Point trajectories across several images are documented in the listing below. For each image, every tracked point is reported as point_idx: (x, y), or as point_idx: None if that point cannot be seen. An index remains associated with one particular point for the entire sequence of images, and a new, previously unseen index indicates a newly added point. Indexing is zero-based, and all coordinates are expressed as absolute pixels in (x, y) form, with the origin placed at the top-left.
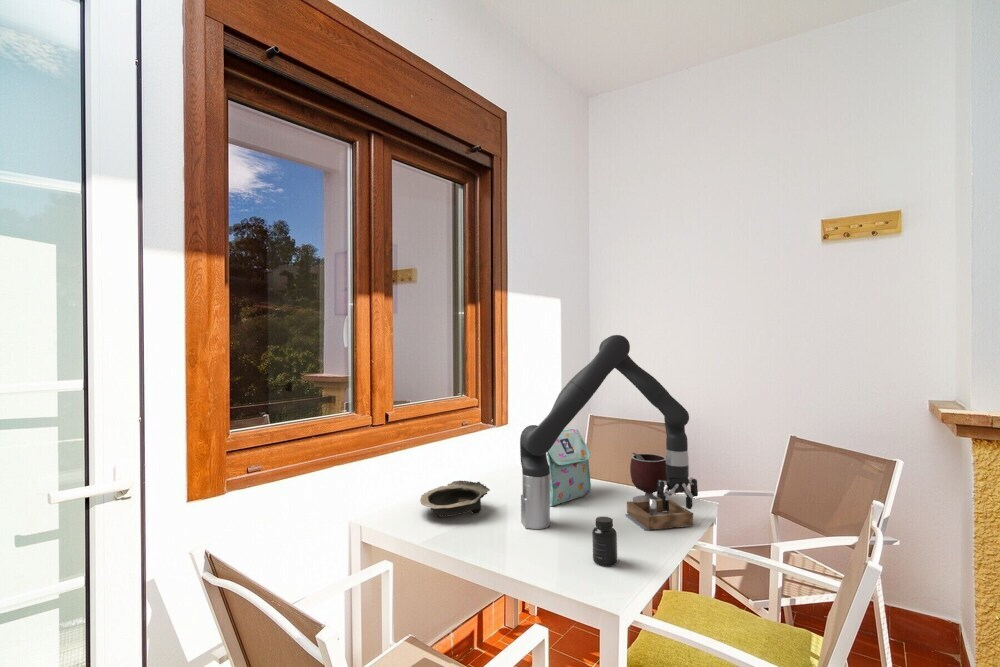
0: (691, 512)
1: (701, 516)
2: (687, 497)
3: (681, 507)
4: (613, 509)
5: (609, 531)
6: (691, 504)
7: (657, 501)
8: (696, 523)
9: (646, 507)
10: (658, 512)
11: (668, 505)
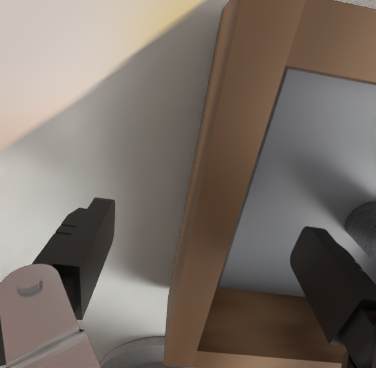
0: (239, 22)
1: (21, 174)
2: (74, 305)
3: (212, 207)
4: None
5: None
6: (71, 225)
7: (261, 351)
8: (137, 76)
9: None
10: (246, 284)
11: (335, 256)
